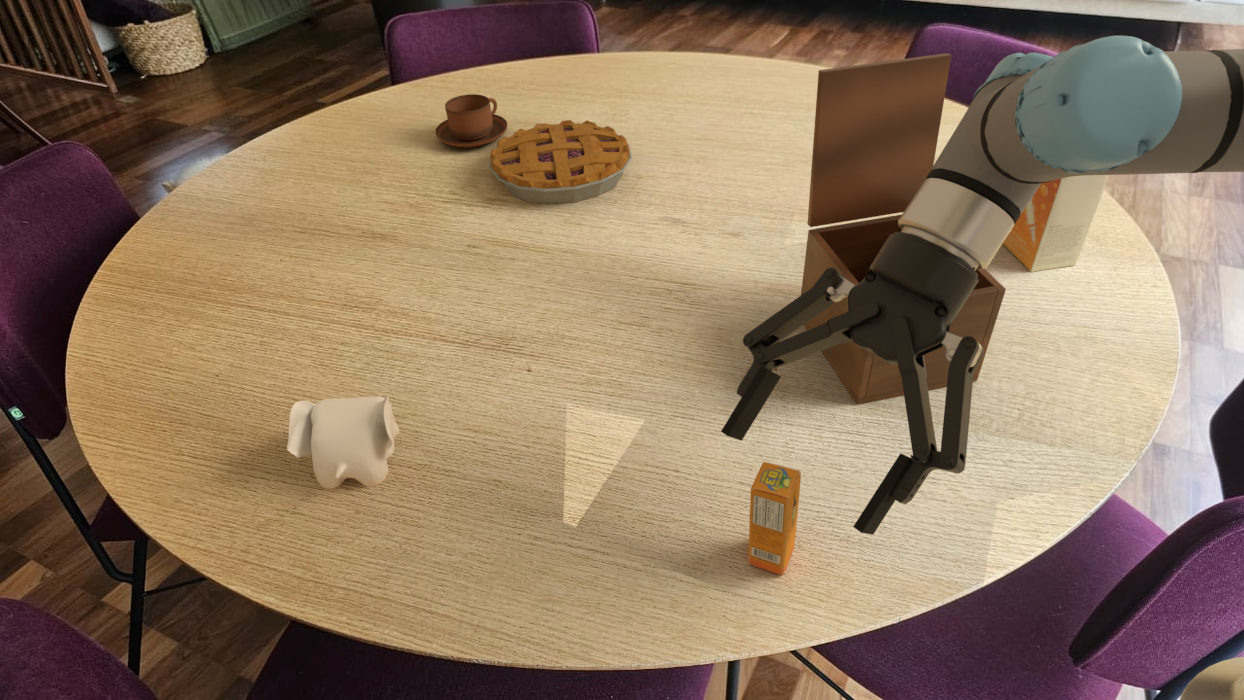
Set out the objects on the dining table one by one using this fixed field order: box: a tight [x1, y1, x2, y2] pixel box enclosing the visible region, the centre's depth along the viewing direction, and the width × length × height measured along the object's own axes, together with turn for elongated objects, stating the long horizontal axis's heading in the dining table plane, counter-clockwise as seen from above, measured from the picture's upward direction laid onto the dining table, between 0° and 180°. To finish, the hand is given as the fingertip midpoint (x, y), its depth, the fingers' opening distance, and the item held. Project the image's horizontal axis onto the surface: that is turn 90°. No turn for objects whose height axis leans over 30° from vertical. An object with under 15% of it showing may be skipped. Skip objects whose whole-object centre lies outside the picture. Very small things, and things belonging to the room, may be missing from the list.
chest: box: [800, 214, 1007, 405], centre depth 86 cm, size 16×14×12 cm
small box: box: [1002, 175, 1110, 273], centre depth 99 cm, size 8×6×13 cm
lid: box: [807, 52, 952, 228], centre depth 86 cm, size 16×14×6 cm
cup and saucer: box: [435, 93, 508, 148], centre depth 135 cm, size 12×12×6 cm
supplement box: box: [747, 461, 802, 576], centre depth 66 cm, size 3×3×10 cm
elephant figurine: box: [286, 395, 400, 490], centre depth 77 cm, size 10×12×9 cm
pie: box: [488, 119, 633, 205], centre depth 123 cm, size 22×22×5 cm
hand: (792, 481), depth 65 cm, fingers open, 13 cm apart
